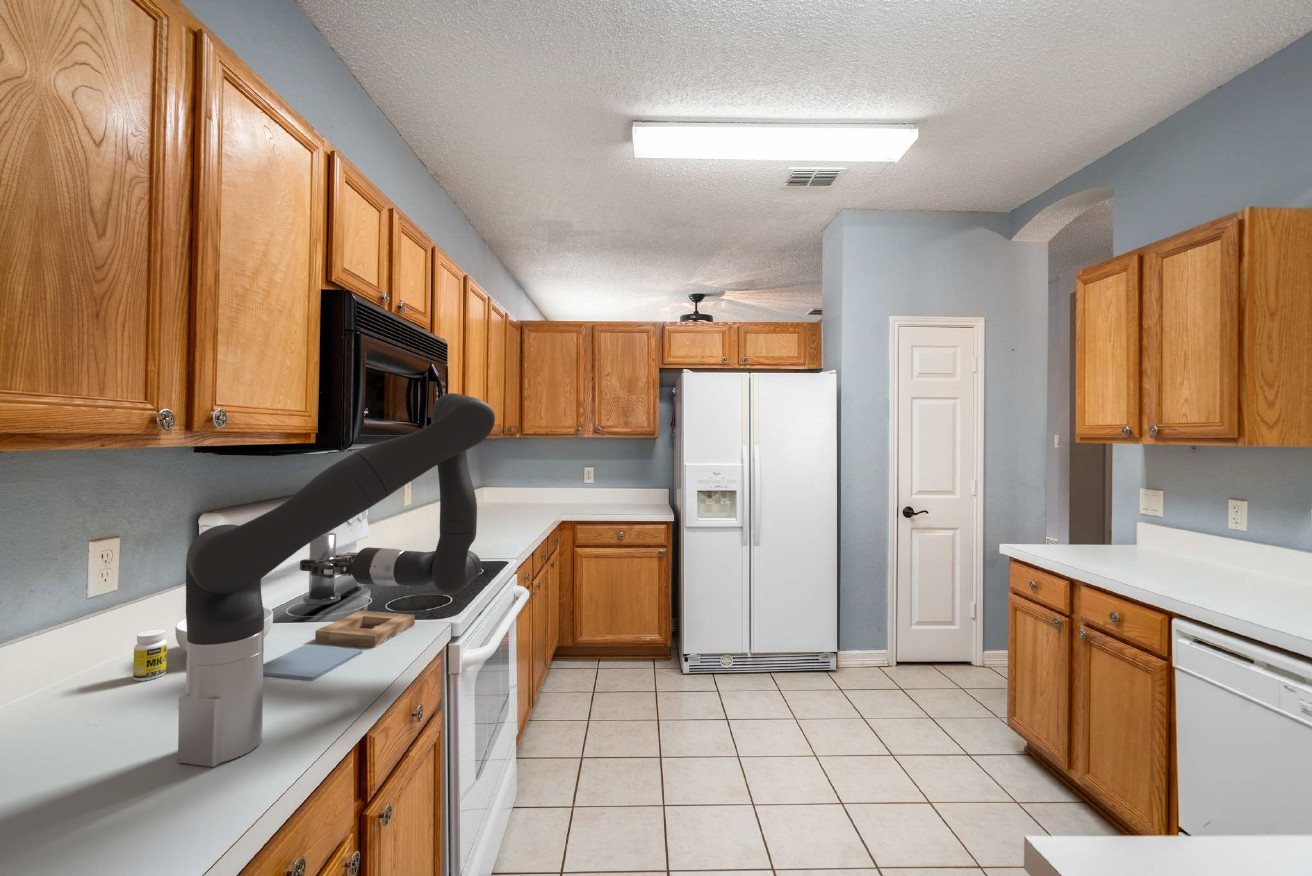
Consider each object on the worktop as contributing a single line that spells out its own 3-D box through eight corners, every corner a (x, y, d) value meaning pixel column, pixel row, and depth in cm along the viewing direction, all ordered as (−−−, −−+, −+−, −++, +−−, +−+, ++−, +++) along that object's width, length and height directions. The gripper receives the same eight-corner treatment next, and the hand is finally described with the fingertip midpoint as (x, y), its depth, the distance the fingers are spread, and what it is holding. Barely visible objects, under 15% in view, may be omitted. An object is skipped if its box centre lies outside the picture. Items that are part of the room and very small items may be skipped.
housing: (374, 647, 126) (375, 636, 126) (315, 641, 128) (315, 630, 128) (414, 625, 141) (414, 615, 141) (360, 620, 143) (360, 610, 143)
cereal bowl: (155, 658, 117) (155, 624, 117) (237, 632, 133) (237, 602, 133) (212, 671, 112) (212, 635, 112) (290, 642, 127) (291, 611, 127)
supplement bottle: (146, 683, 106) (147, 638, 106) (126, 680, 107) (127, 635, 107) (172, 672, 111) (173, 629, 111) (153, 670, 112) (154, 627, 112)
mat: (312, 680, 109) (312, 677, 109) (249, 673, 111) (249, 670, 111) (362, 652, 122) (362, 650, 122) (305, 647, 125) (305, 644, 125)
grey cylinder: (324, 606, 116) (325, 538, 116) (295, 604, 117) (296, 536, 117) (347, 597, 123) (348, 532, 123) (319, 595, 124) (320, 531, 124)
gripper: (404, 542, 125) (335, 538, 128) (360, 555, 111) (284, 551, 114) (404, 576, 125) (334, 572, 128) (360, 594, 111) (283, 588, 114)
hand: (311, 562), depth 121 cm, fingers closed on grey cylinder, 4 cm apart
